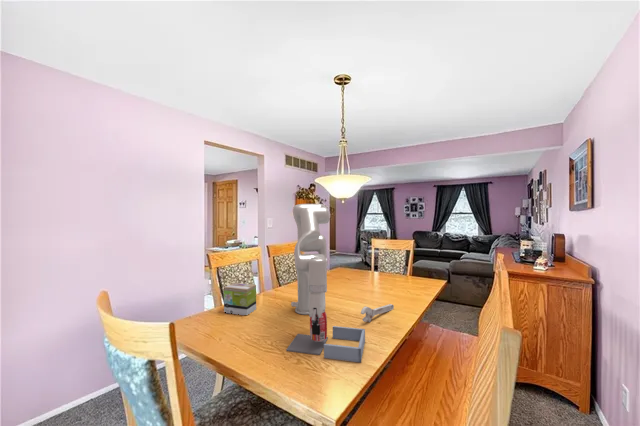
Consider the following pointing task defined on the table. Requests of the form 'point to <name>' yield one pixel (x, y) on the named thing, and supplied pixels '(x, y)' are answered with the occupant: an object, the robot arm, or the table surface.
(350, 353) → the cubby
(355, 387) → the table surface
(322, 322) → the soda can
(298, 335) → the mat
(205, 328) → the table surface
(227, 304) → the tea box
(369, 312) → the wrench
